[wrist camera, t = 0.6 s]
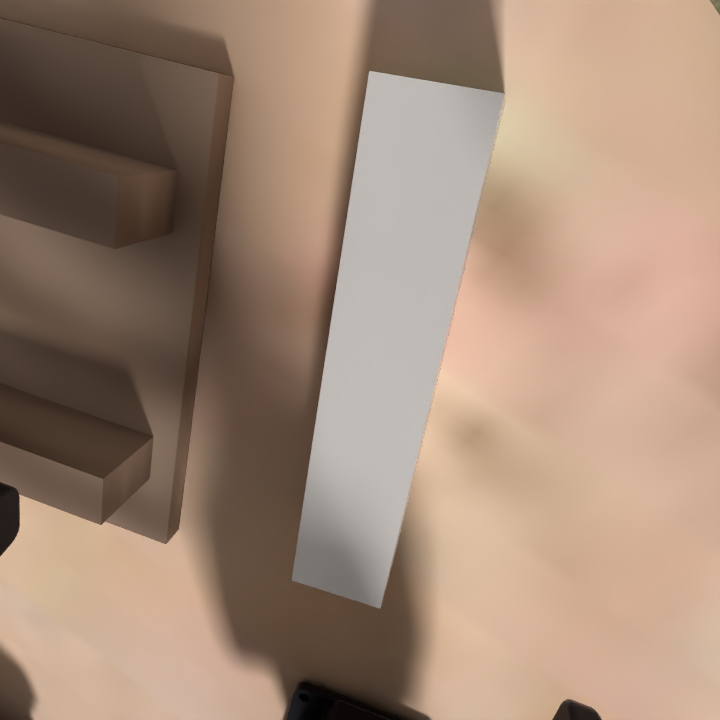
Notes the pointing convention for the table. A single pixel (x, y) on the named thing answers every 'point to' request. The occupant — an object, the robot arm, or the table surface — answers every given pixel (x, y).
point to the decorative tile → (716, 4)
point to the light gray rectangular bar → (391, 321)
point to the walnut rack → (103, 271)
